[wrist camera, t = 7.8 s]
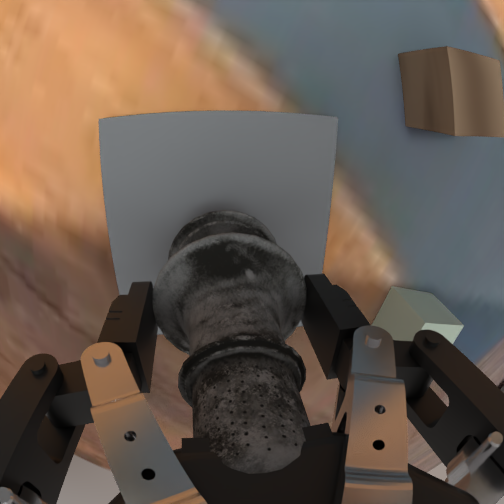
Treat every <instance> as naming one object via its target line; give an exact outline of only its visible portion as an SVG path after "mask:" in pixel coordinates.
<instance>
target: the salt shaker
mask: <svg viewBox="0 0 504 504" xmlns="http://www.w3.org/2000/svg"><path fill="white" fill-rule="evenodd" d="M306 297H307V287H306V283H305V280H304V277H303V274H302V271H301V269H300V268H299V266H298V265H297V263H296V262H295V261H294V259H293V258H292V256H291V255H290V254H289V253H287V252H286V251H285V250H283V249H282V248H281V247H279V246H278V245H277V243H276V240H275V238H274V236H273V235H272V234H271V232H270V231H269V229H268V228H267V227H266V226H265V225H264V224H263V223H261V222H260V221H259V220H257V219H256V218H255V217H252V216H250V215H247V214H245V213H243V212H239V211H231V210H220V211H212V212H208V213H205V214H203V215H201V216H198V217H196V218H194V219H193V220H191V221H190V222H189V223H187V224H186V225H185V226H183V227H182V229H181V230H180V231H179V233H178V234H177V235H176V237H175V238H174V240H173V242H172V245H171V248H170V250H169V256H168V261H167V263H166V264H165V265H164V267H163V268H162V269H161V271H160V272H159V274H158V277H157V280H156V282H155V285H154V288H153V292H152V305H153V311H154V316H155V320H156V323H157V325H158V327H159V328H160V330H161V331H162V333H163V334H164V336H165V337H166V339H167V340H169V341H170V342H171V343H172V344H173V345H174V346H176V347H177V348H178V349H179V350H181V351H183V352H185V353H187V354H189V358H188V359H187V360H186V361H185V362H184V363H183V365H182V368H181V370H180V372H179V380H178V388H179V390H180V393H181V395H182V397H183V399H184V400H185V401H186V402H187V403H188V404H189V405H190V406H191V407H192V408H193V438H209V443H210V452H214V453H215V454H216V455H217V456H218V457H219V458H220V459H221V460H222V462H223V464H224V465H226V466H228V467H230V468H231V469H234V470H238V471H241V472H244V473H248V474H256V473H268V472H272V471H276V470H280V469H283V468H284V467H286V466H287V465H288V464H290V463H291V462H292V461H294V460H295V459H296V458H298V457H299V456H300V453H301V448H302V445H303V442H305V441H306V440H305V437H304V433H303V430H302V427H308V426H310V423H309V420H308V417H307V414H306V411H305V408H304V405H303V402H302V399H301V396H300V393H299V392H300V391H301V389H302V387H303V385H304V382H305V380H306V368H305V366H304V363H303V360H302V358H301V356H300V355H299V354H298V353H297V352H296V351H295V350H294V349H293V348H292V347H290V346H289V345H287V344H285V340H286V339H287V338H288V337H289V336H290V335H291V334H292V333H293V332H294V330H295V329H296V327H297V326H298V324H299V322H300V321H301V319H302V316H303V313H304V310H305V306H306Z"/></svg>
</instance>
